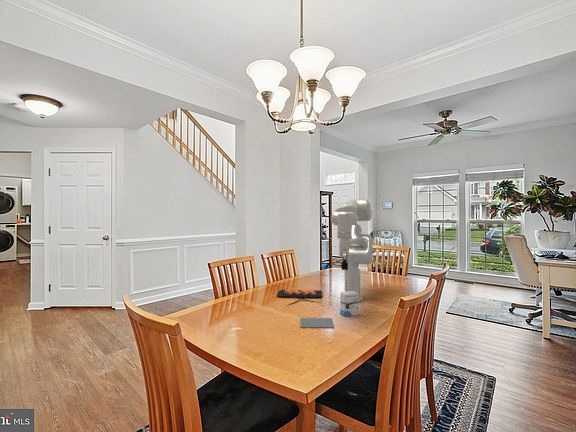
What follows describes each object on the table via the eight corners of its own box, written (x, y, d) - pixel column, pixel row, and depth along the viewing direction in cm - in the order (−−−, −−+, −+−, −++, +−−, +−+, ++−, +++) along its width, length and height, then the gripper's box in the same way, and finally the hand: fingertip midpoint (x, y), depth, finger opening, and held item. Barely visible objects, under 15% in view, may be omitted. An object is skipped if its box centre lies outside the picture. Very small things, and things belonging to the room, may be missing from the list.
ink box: (344, 316, 159) (344, 294, 158) (340, 313, 163) (340, 291, 163) (359, 315, 161) (359, 292, 161) (354, 312, 166) (354, 290, 165)
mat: (300, 318, 156) (300, 317, 156) (331, 319, 156) (331, 318, 156) (300, 327, 144) (300, 326, 144) (334, 328, 144) (334, 327, 144)
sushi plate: (322, 293, 205) (322, 287, 205) (322, 307, 175) (322, 301, 175) (279, 292, 208) (279, 286, 208) (272, 306, 178) (272, 300, 178)
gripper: (338, 234, 170) (338, 264, 171) (336, 236, 153) (337, 270, 154) (351, 234, 169) (351, 265, 169) (352, 237, 152) (352, 271, 152)
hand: (344, 268), depth 161 cm, fingers open, 9 cm apart
